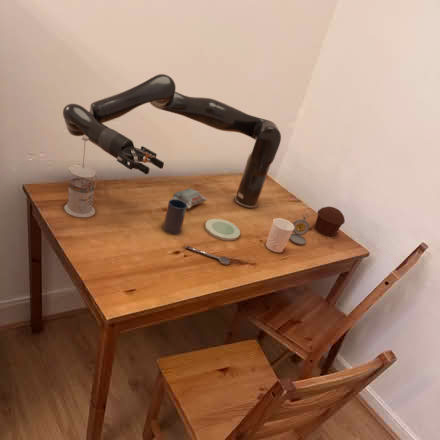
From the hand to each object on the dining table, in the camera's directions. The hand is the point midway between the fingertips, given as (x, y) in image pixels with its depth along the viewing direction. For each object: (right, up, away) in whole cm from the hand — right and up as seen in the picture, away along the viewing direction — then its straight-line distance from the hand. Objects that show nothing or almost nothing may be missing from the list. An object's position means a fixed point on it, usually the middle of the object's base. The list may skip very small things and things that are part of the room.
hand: (155, 168), depth 139 cm
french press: (-26, -12, +5) cm, 29 cm away
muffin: (+64, -14, +42) cm, 78 cm away
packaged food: (+9, -6, +28) cm, 30 cm away
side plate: (+21, -17, +19) cm, 33 cm away
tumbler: (+4, -18, +10) cm, 21 cm away
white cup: (+40, -23, +20) cm, 51 cm away
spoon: (+16, -28, +3) cm, 32 cm away
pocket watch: (+51, -19, +29) cm, 61 cm away
